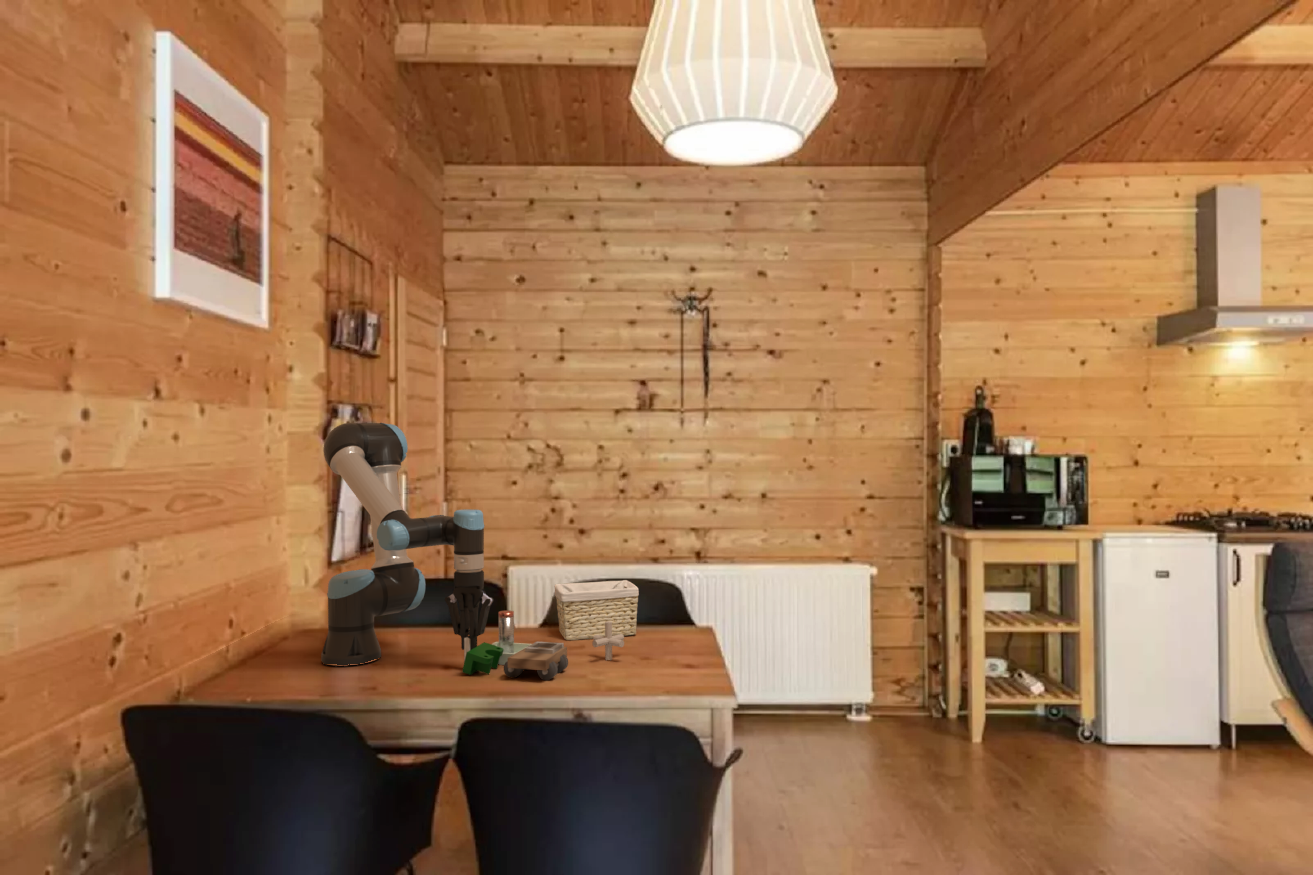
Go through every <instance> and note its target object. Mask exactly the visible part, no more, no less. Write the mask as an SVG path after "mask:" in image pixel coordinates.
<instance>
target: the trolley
mask: <svg viewBox="0 0 1313 875" xmlns="http://www.w3.org/2000/svg"><path fill="white" fill-rule="evenodd" d="M564 643H565V642H551V641H535V642H533V643H531V644H532V645H530V646H528V647H526V648H524V649H523V650H521V651H519V652H517V653H515V654H514V655H512V656H510V657H508V661H507V662H506V663H505V664H504V665H503V672H504V674H505V676H507V677H508V678H510V677H515V678H517V677H518V676H520V675H521V674H522V673H523V672H524V671H523V670H526V671H528V670H535V671H536V670H537V675H538V677H539V678H540V679H541V680H543V681H550V680H551V679H553V678H554V677H556V676H557V674H559V673H562V672H563V671H564V670H566V669H567V667H568V666H569V659H568V646H564V645H565V644H564Z"/></svg>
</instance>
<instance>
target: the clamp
mask: <svg viewBox="0 0 1313 875" xmlns="http://www.w3.org/2000/svg"><path fill="white" fill-rule="evenodd" d="M503 650H504V649H503V648H501V647H498V646H495V645H492V643H488V642H482V643H481V644H479V645H478V644H477V647H475V648H473V649H472V650H470V651H468V652H467V653H466V657H465V661H464V662H463V666H462V673H463V674H466V675H470V676H471V675H474V674H475V673H476V672H480V673H484V674H487V675H490V674H491V669H492V668H493V669H496V670H497V669H498V663H499V659H500V656H502V654H503ZM489 673H490V674H489Z"/></svg>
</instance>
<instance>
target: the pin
mask: <svg viewBox="0 0 1313 875" xmlns="http://www.w3.org/2000/svg"><path fill="white" fill-rule="evenodd" d="M514 615H515V612H514V610H500V611H498V642H499V647H501V648H503V649H504V650H503V653H514V643H515V616H514Z"/></svg>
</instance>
